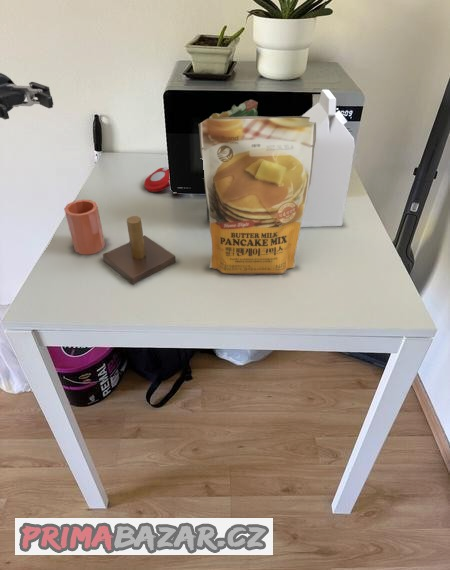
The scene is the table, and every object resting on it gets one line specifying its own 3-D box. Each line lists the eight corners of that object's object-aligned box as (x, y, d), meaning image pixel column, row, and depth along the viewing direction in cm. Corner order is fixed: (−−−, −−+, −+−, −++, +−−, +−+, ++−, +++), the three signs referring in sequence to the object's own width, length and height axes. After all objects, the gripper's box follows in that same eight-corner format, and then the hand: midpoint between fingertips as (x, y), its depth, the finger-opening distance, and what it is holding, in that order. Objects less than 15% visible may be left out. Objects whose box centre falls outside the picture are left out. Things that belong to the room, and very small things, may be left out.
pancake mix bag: (202, 254, 88) (198, 111, 70) (297, 254, 88) (318, 112, 71) (201, 275, 83) (197, 126, 65) (303, 275, 83) (326, 127, 65)
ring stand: (133, 284, 81) (126, 241, 75) (103, 260, 86) (94, 218, 80) (175, 262, 86) (172, 220, 80) (145, 241, 92) (140, 200, 86)
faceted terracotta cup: (77, 257, 87) (67, 217, 81) (72, 241, 91) (62, 203, 85) (107, 250, 89) (99, 211, 83) (101, 235, 93) (93, 197, 87)
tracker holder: (135, 187, 108) (153, 162, 113) (143, 201, 111) (160, 176, 116) (178, 185, 102) (194, 159, 108) (185, 200, 105) (200, 174, 111)
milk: (281, 200, 106) (293, 85, 89) (328, 199, 106) (349, 84, 90) (290, 227, 96) (305, 104, 80) (342, 226, 97) (367, 103, 80)
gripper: (-56, 75, 82) (-18, 94, 73) (17, 62, 90) (59, 78, 81) (-41, 116, 87) (-3, 138, 78) (27, 100, 95) (68, 119, 86)
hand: (28, 107), depth 80 cm, fingers open, 8 cm apart
